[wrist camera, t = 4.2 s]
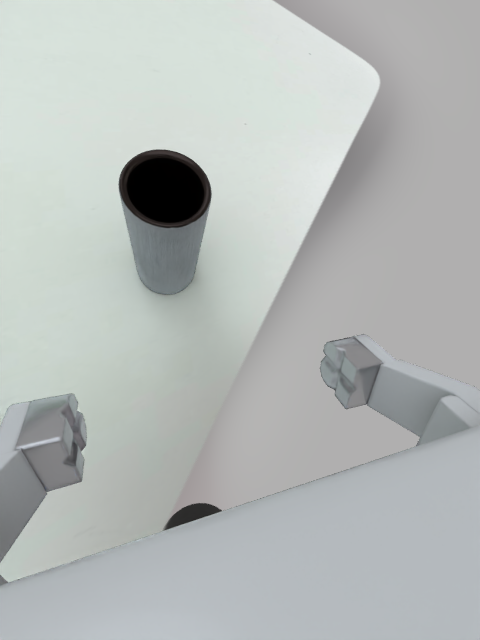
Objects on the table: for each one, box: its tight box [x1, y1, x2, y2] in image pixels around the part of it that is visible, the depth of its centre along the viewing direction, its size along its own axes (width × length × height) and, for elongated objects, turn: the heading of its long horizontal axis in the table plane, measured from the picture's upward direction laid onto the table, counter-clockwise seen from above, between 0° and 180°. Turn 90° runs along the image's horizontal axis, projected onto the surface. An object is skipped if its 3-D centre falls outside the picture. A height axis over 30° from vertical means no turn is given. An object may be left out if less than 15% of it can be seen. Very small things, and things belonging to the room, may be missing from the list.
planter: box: [119, 150, 211, 294], centre depth 20 cm, size 4×4×10 cm
